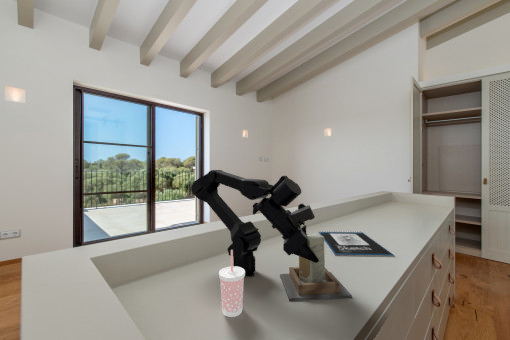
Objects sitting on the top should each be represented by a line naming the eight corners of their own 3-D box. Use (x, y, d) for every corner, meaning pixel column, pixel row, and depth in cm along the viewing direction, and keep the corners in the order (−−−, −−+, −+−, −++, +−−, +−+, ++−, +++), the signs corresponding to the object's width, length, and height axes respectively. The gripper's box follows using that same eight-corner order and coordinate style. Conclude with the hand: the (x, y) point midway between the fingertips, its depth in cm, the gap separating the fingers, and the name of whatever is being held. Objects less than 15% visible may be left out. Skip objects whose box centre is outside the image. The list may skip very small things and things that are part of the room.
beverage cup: (220, 303, 55) (219, 245, 55) (245, 302, 55) (244, 245, 55) (217, 319, 48) (216, 255, 49) (245, 318, 49) (245, 254, 49)
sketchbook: (334, 257, 84) (334, 252, 84) (318, 234, 114) (317, 230, 114) (394, 258, 82) (394, 252, 82) (361, 234, 112) (361, 230, 112)
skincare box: (313, 274, 66) (313, 232, 66) (325, 279, 62) (325, 236, 63) (297, 280, 62) (297, 236, 62) (310, 286, 59) (309, 240, 59)
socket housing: (289, 300, 55) (289, 288, 55) (279, 276, 68) (279, 265, 68) (351, 297, 56) (351, 285, 56) (330, 273, 69) (330, 263, 69)
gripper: (297, 200, 54) (345, 249, 52) (297, 192, 72) (333, 228, 70) (264, 231, 55) (310, 279, 53) (273, 215, 74) (307, 251, 72)
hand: (316, 256), depth 62 cm, fingers closed on skincare box, 7 cm apart
